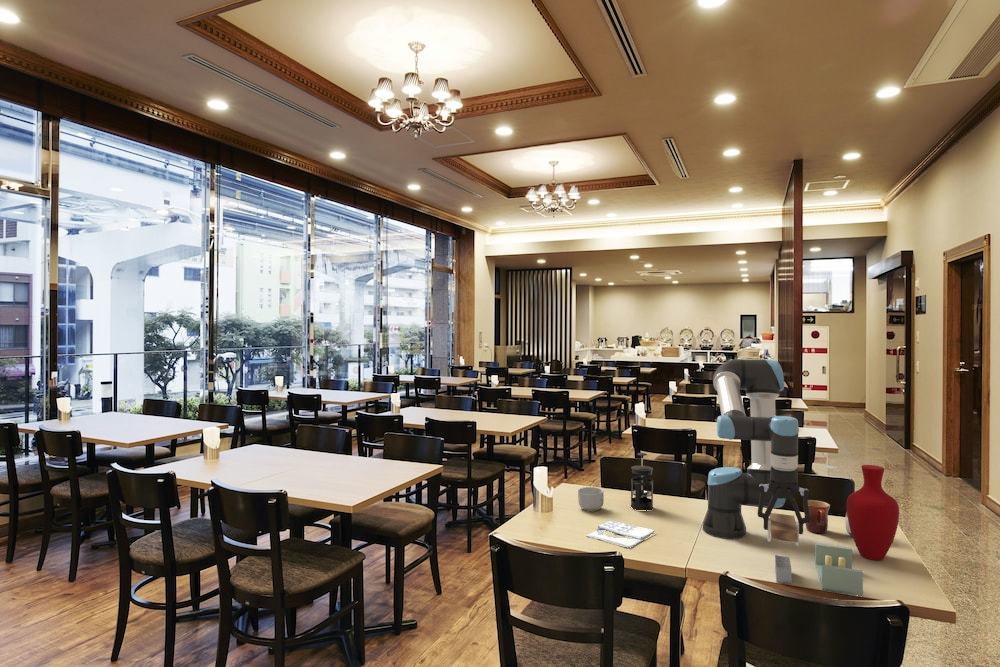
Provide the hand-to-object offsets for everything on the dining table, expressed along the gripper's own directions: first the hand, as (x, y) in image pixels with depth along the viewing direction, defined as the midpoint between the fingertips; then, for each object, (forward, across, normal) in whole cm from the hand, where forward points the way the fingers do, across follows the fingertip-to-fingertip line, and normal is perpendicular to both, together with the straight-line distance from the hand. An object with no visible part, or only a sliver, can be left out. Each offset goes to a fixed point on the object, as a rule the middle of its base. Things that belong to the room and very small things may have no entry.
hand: (782, 541), depth 180 cm
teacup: (+12, -71, +42) cm, 83 cm away
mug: (+12, +14, +47) cm, 51 cm away
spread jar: (+12, +29, +50) cm, 59 cm away
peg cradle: (+10, +15, +3) cm, 19 cm away
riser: (+10, 0, -1) cm, 10 cm away
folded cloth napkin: (+12, -53, +15) cm, 56 cm away
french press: (+12, -51, +50) cm, 72 cm away
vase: (+11, +28, +28) cm, 41 cm away
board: (-3, 0, 0) cm, 3 cm away
